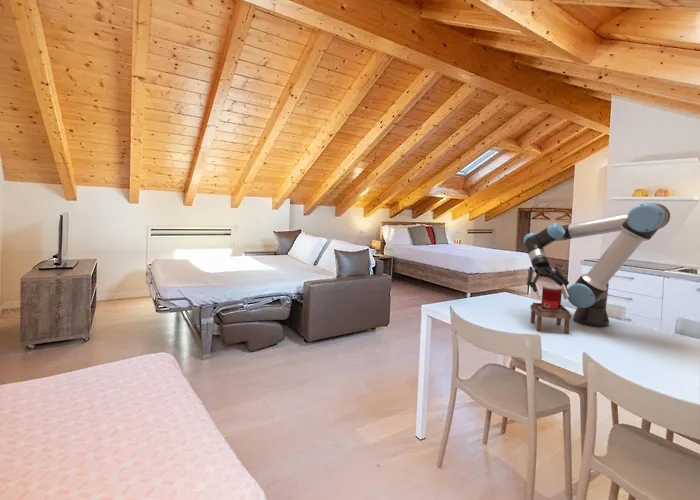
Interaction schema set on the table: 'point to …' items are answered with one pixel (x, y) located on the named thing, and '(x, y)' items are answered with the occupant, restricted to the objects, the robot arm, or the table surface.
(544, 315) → the stool
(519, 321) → the table surface
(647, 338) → the table surface
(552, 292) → the canned food
